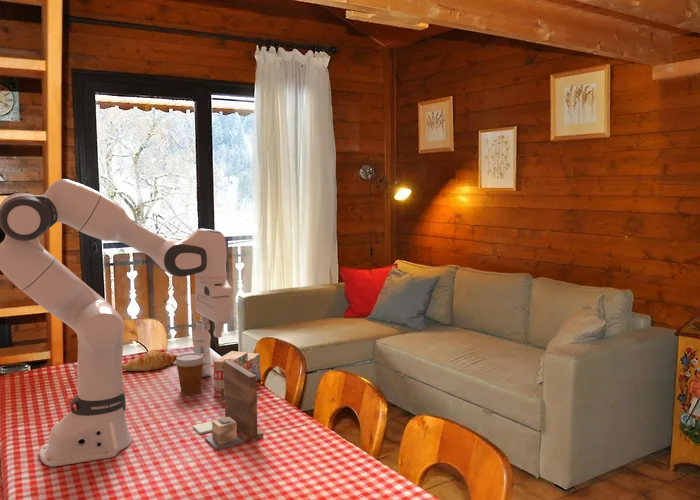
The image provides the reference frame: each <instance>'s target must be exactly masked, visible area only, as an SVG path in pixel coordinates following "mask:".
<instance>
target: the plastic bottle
mask: <svg viewBox="0 0 700 500" xmlns="http://www.w3.org/2000/svg"><path fill="white" fill-rule="evenodd" d="M211 338H212V336H211V333H210V332H209V330H207V331H205V330H203V324H202V320H199V321H196V322H195V330H194V332H193V334H192V336H191V340H192V346H193V353H199V354H202V355H203V358H204V362H203V369H202V378H205V377H209V376H211V374H212V371H213V365H212V361H211V360H212V359H211V353H210V351H211V349H210V348H211V340H212V339H211Z"/></svg>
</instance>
